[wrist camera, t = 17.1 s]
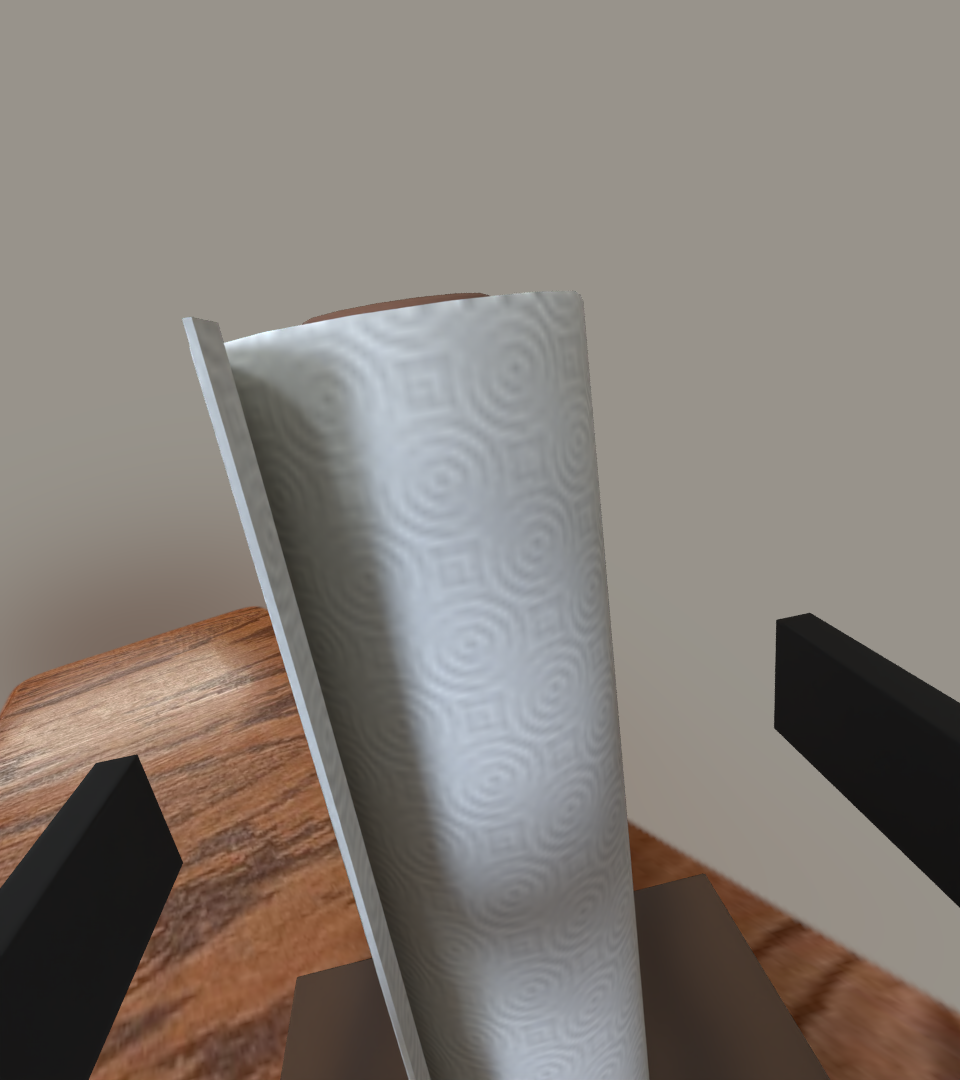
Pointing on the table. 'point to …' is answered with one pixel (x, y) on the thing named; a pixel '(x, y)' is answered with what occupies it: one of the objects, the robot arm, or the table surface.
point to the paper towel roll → (451, 660)
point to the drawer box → (667, 990)
